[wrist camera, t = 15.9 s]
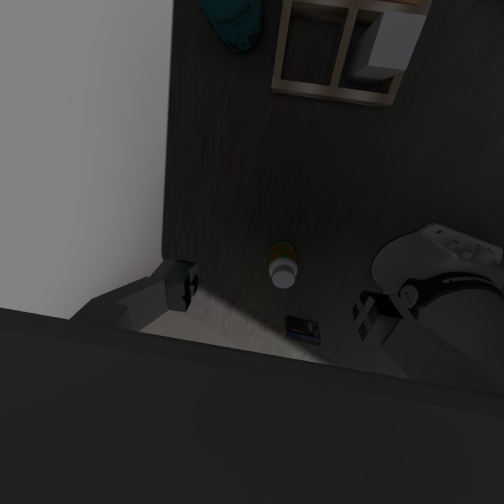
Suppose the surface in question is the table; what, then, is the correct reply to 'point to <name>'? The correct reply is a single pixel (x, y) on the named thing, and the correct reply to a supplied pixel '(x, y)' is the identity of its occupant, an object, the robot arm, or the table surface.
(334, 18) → the socket block
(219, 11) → the beverage bottle
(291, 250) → the supplement bottle
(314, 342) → the mini dv tape
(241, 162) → the table surface
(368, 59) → the plug
